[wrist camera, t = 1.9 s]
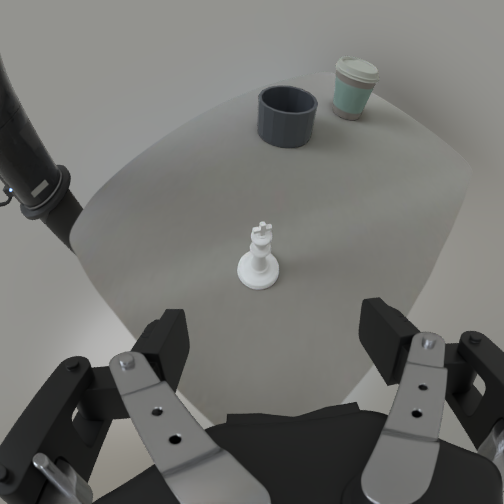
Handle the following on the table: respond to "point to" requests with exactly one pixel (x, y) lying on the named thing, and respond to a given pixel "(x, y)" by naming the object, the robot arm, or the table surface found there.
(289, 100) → the tumbler
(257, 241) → the chess piece
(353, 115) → the coffee cup
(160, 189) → the table surface
